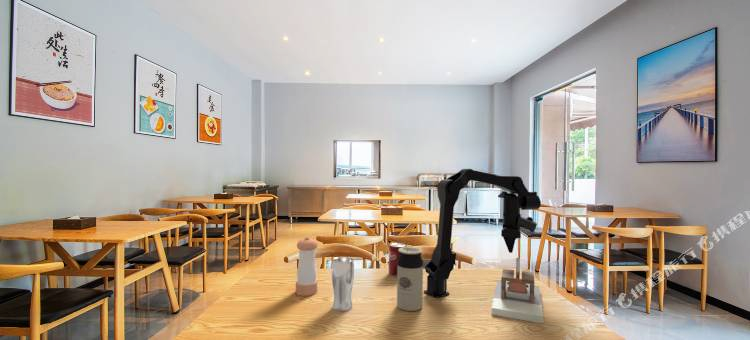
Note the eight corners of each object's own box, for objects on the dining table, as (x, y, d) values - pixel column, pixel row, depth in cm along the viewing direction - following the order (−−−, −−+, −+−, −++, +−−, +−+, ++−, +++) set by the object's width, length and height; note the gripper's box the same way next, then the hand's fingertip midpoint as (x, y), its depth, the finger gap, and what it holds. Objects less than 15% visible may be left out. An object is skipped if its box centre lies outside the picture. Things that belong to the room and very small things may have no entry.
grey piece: (528, 300, 108) (529, 265, 107) (506, 297, 110) (506, 262, 110) (528, 292, 115) (528, 259, 115) (507, 289, 117) (507, 256, 117)
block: (525, 300, 109) (526, 284, 109) (508, 297, 111) (509, 282, 111) (525, 294, 113) (525, 279, 113) (509, 292, 115) (509, 277, 115)
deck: (543, 323, 97) (543, 316, 97) (491, 314, 102) (491, 307, 102) (538, 291, 122) (538, 286, 122) (497, 285, 127) (497, 280, 127)
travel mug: (407, 299, 113) (408, 245, 113) (427, 306, 107) (428, 249, 107) (391, 306, 107) (392, 249, 107) (411, 314, 102) (412, 254, 102)
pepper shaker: (291, 294, 116) (292, 238, 116) (303, 287, 123) (304, 234, 123) (309, 297, 114) (310, 240, 113) (321, 290, 120) (321, 236, 120)
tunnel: (533, 304, 105) (534, 281, 105) (501, 298, 109) (501, 277, 109) (532, 293, 115) (533, 272, 115) (502, 288, 118) (502, 268, 118)
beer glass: (357, 304, 108) (357, 257, 108) (348, 313, 102) (348, 263, 101) (337, 301, 110) (337, 255, 110) (327, 310, 104) (327, 261, 104)
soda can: (406, 271, 143) (406, 243, 142) (406, 277, 135) (406, 247, 135) (389, 270, 143) (389, 242, 143) (388, 276, 136) (388, 246, 136)
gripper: (537, 215, 113) (536, 261, 113) (534, 208, 130) (533, 249, 131) (501, 212, 117) (500, 257, 118) (503, 206, 135) (502, 246, 135)
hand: (510, 252), depth 125 cm, fingers closed
